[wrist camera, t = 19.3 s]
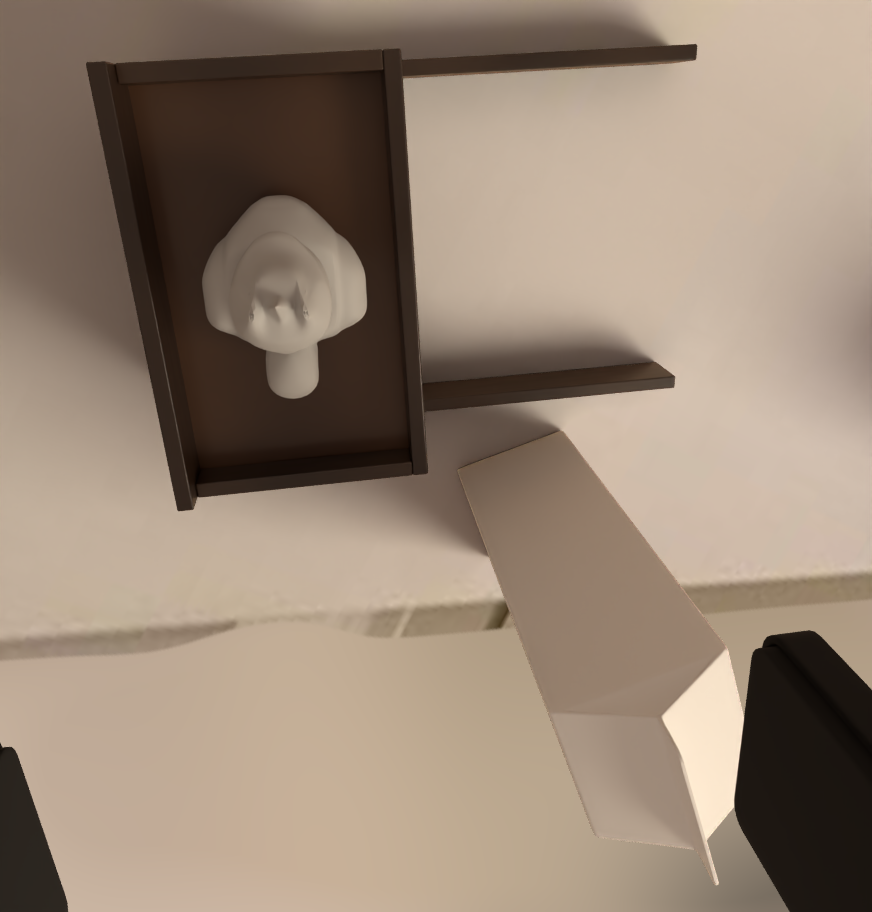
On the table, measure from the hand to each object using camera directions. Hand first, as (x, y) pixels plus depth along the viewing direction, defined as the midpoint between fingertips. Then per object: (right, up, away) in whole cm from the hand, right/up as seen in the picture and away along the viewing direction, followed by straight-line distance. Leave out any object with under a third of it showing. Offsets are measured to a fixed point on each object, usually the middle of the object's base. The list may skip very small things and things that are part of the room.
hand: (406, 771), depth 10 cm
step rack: (0, +14, +27) cm, 31 cm away
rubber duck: (-5, +10, +19) cm, 23 cm away
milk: (+5, +2, +33) cm, 34 cm away
